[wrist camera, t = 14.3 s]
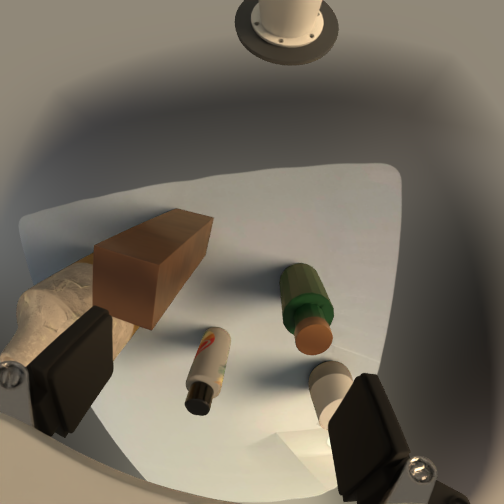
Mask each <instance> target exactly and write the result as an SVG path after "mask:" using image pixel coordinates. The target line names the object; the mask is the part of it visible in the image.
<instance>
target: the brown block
mask: <svg viewBox="0 0 504 504" xmlns="http://www.w3.org/2000/svg"><path fill="white" fill-rule="evenodd" d="M213 219H214V218H213V217H209V216H205V215H201V214H197V213H193V212H189V211H185V210H181V209H177V208H176V209H174V210H171V211H169V212H166V213H164V214H162V215H159V216H157V217H155V218H153V219H150V220H148V221H146V222H143V223H141V224H139V225H137V226H134V227H132V228H130V229H128V230H126V231H123V232H121V233H119V234H117V235H115V236H113V237H111V238H109V239H106V240H104V241H102V242H100V243H98V244H96V245H94V256H93V282H92V306H94V305H96V306H99V307H101V308H104V309H106V310H108V311H109V315H111V316H112V317H115V318H117V319H120V320H123V321H125V322H128V323H131V324H134V325H137V326H140V327H143V328H146V329H149V330H153V328H154V327H155V325H156V324H157V322H158V321H159V320H160V318H161V317H162V315H163V314H164V312H165V311H166V310H167V308H168V307H169V305H170V304H171V302H172V301H173V300H174V298H175V297H176V295H177V294H178V293H179V291H180V290H181V288H182V287H183V286H184V284H185V283H186V281H187V280H188V279H189V277H190V276H191V274H192V273H193V272H194V270H195V269H196V268H197V266H198V265H199V263H200V262H201V261H202V259H203V258H204V257H205V255H206V251H207V246H208V242H209V237H210V232H211V228H212V223H213Z"/></svg>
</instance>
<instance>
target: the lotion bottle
mask: <svg viewBox="0 0 504 504" xmlns="http://www.w3.org/2000/svg"><path fill="white" fill-rule="evenodd" d="M230 344H231V338H230V335H229V334H228V332H227V331H225V330H224V329H222V328H218V327H213V328H210V329H208V330H207V331H206V332H205V333H204V335H203V337H202V340H201V343H200V345H199V348H198V350H197V353H196V356H195V358H194V361H193V364H192V366H191V369H190V372H189V374H188V377H187V380H186V388H187V390H188V391H189V392H188V395H187V398H186V401H185V407H186V408H187V410H188V411H189V412H190V413H192V414H194V415H200V416H204V415H206V414H208V413H209V411H210V407H211V403H212V399H213V398H215V397H217V396H218V395H219V393H220V390H221V386H222V382H223V377H224V372H225V368H226V363H227V358H228V354H229V349H230Z"/></svg>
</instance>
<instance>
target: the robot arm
mask: <svg viewBox="0 0 504 504" xmlns="http://www.w3.org/2000/svg"><path fill="white" fill-rule="evenodd" d="M321 3H322V0H259V3H257V5H256V6H255V7H254V9H253V11H252V14H251V22H252V26H253V29H254V31H255V32H256V33H257V35H258V36H260V37H261V38H262V39H263V40H265V41H267V42H268V43H271V44H273V45H276V46H280V47H287V48H296V47H301V46H305V45H308V44H310V43H311V42H313V41H314V40H316V39H317V38H318V37H319V35H320V34H321V31H322V29H323V25H324V23H323V17H322V14H321V12H320V11H319V9H320V6H321ZM256 25H257V26H256ZM311 37H312V38H311ZM279 42H282V43H279ZM112 324H113V319H112V316H111V315H109V311H108V310H106V309H104V308H101V307H99V306H96V305H94V306H92V307H91V308H90V309H89V310H88V311H87V312H85V313H84V314H83V315H82V316H81V317H80V318H79V319H77V320H76V321H75V322H74V323H73V324H72V325H71V326H70V327H68V328H67V329H66V330H65V331H64V332H63V333H61V334H60V335H59V336H58V337H57V338H56V339H55V340H54V341H53V342H52V343H51V344H49V345H48V346H47V347H46V348H45V349H44V350H43V351H42V352H41V353H40V354H39V355H38V356H37V357H36V358H35V359H33V360H32V361H31V362H30V363H29V364H28V365H27V366H26V367H25V366H24V365H22V364H21V363H19V362H17V361H11V360H10V361H4V362H1V363H0V504H240V503H233V502H227V501H222V500H216V499H211V498H206V497H202V496H197V495H193V494H189V493H185V492H181V491H177V490H174V489H170V488H167V487H164V486H160V485H157V484H154V483H151V482H148V481H145V480H142V479H139V478H136V477H133V476H131V475H128V474H126V473H123V472H121V471H118V470H116V469H113V468H111V467H109V466H107V465H104V464H102V463H100V462H98V461H95V460H93V459H91V458H89V457H87V456H85V455H83V454H81V453H79V452H77V451H75V450H73V449H71V448H69V447H67V446H66V445H64V444H62V443H60V442H58V441H56V440H54V439H53V438H51V436H52V435H53V434H54V433H57V434H59V435H60V436H62V437H64V438H65V437H66V436H67V434H68V433H73V432H74V431H75V429H76V428H77V426H78V425H79V423H80V422H81V420H82V418H83V417H84V415H85V414H86V412H87V411H88V409H89V408H90V406H91V405H92V404H93V402H94V401H95V399H96V398H97V396H98V395H99V393H100V392H101V390H102V389H103V387H104V386H105V384H106V383H107V382H108V380H109V379H110V377H111V376H112V373H113V331H112ZM328 432H329V437H330V443H331V449H332V454H333V460H334V466H335V472H336V478H337V484H338V491H339V494H340V495H343V501H344V502H351V501H357V504H470V502H469V500H468V498H467V497H466V496H465V495H463V494H462V493H460V492H458V491H456V490H454V489H452V488H450V487H448V486H446V485H445V484H443V483H441V482H439V481H437V480H436V479H437V469H436V467H435V465H434V464H433V463H432V462H431V461H430V460H429V459H427V458H425V457H422V456H415V457H412V458H410V457H409V453H410V449H409V447H408V444H407V442H406V439H405V437H404V435H403V432H402V430H401V427H400V425H399V423H398V420H397V418H396V415H395V413H394V411H393V409H392V406H391V404H390V402H389V400H388V397H387V395H386V393H385V391H384V388H383V386H382V384H381V382H380V380H379V378H378V376H377V375H376V374H368V373H362V374H361V375H360V376H357V377H356V378H355V380H354V382H353V383H352V385H351V387H350V388H349V390H348V392H347V393H346V395H345V397H344V398H343V400H342V402H341V403H340V405H339V406H338V408H337V410H336V411H335V413H334V414H333V416H332V417H331V419H330V420H329V423H328Z"/></svg>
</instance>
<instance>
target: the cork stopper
mask: <svg viewBox="0 0 504 504" xmlns="http://www.w3.org/2000/svg"><path fill="white" fill-rule="evenodd" d="M294 336H295V343H296V347H297V348H298V350H299V351H300V352H302V353H304V354H306V355H317V354H320V353H323V352H324V351H326V350H327V349H328V348H329V347H330V345H331V343H332V340H333V336H332V332H331V329H330V327H329V324H328V323H327V322H326V321H325V320H324V319H323V318H320V317H308V318H305V319H303V320H302V321H300V322H299V323H298V325H297V326H296V328H295V331H294Z"/></svg>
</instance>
